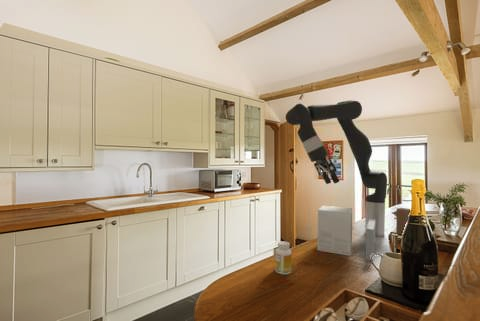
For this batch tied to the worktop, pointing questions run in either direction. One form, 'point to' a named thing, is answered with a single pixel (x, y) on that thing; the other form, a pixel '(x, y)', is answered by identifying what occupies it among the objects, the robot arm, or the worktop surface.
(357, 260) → the worktop surface
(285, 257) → the supplement bottle
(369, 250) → the grey board
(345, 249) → the supplement box
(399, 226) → the wooden block
